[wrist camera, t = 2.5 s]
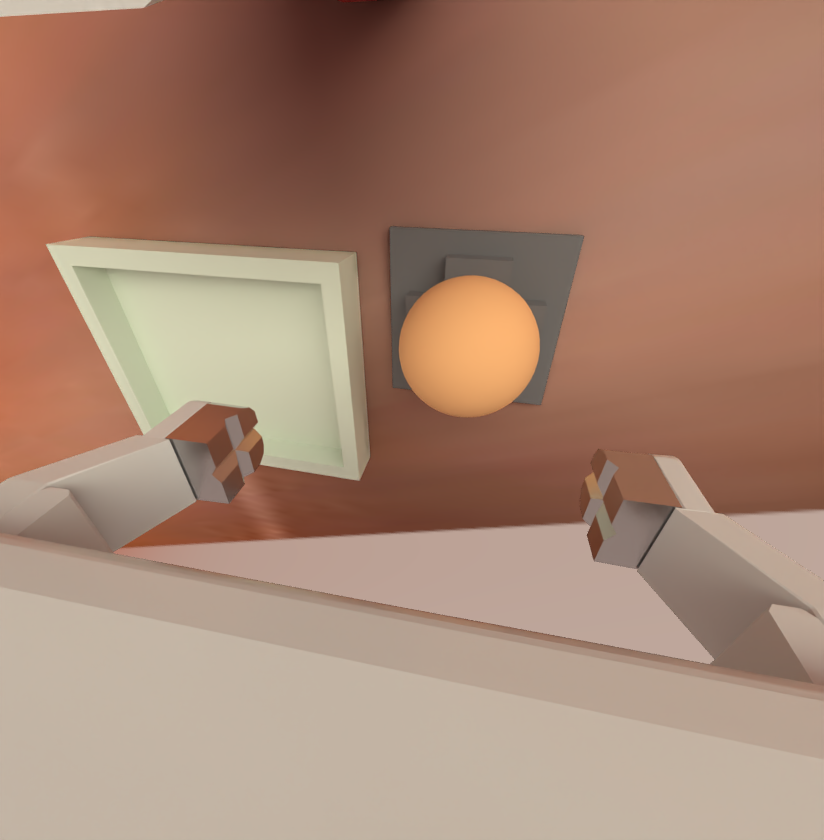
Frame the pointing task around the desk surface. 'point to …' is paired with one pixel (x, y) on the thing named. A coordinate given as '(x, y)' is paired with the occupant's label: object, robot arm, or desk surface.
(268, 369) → the tray
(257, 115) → the desk surface
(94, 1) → the plastic cup
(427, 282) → the coaster
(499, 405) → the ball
